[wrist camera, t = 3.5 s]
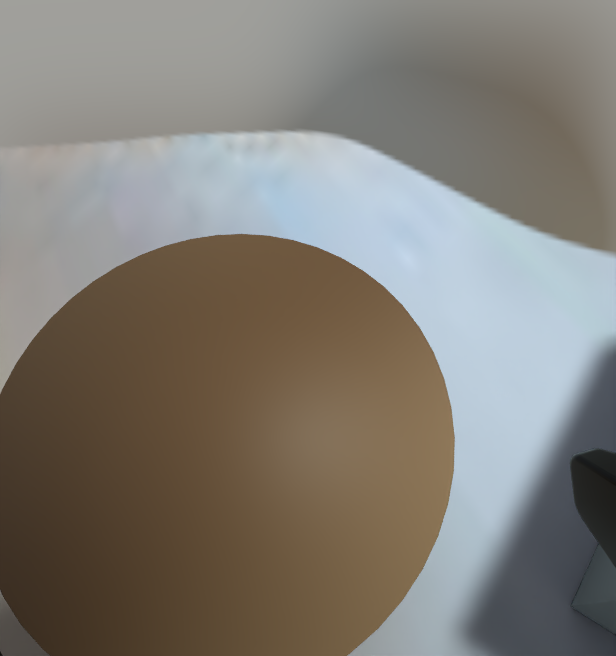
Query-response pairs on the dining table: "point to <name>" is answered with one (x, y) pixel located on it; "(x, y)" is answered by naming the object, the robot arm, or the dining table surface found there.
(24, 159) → the dining table surface
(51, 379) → the walnut dowel
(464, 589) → the dining table surface
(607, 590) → the socket block
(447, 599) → the dining table surface
